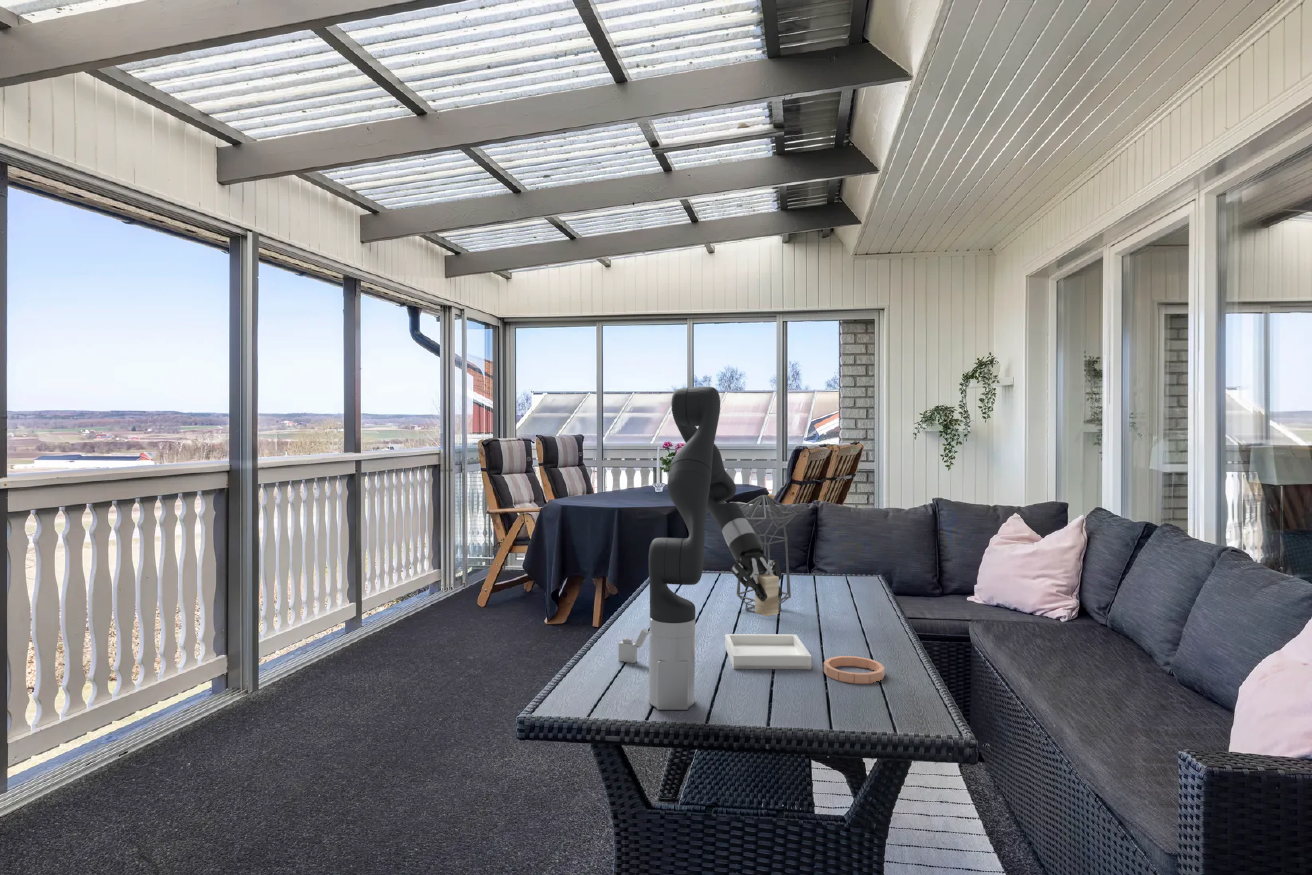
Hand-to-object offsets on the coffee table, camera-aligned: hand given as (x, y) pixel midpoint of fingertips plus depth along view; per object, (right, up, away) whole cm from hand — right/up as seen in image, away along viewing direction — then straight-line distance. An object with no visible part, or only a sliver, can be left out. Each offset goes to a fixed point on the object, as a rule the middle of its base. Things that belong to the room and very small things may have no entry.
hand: (772, 598), depth 186 cm
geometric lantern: (+4, -14, +47) cm, 49 cm away
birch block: (-1, -4, +2) cm, 5 cm away
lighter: (-33, -15, -3) cm, 36 cm away
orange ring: (+17, -15, -10) cm, 25 cm away
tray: (-1, -15, +2) cm, 15 cm away
